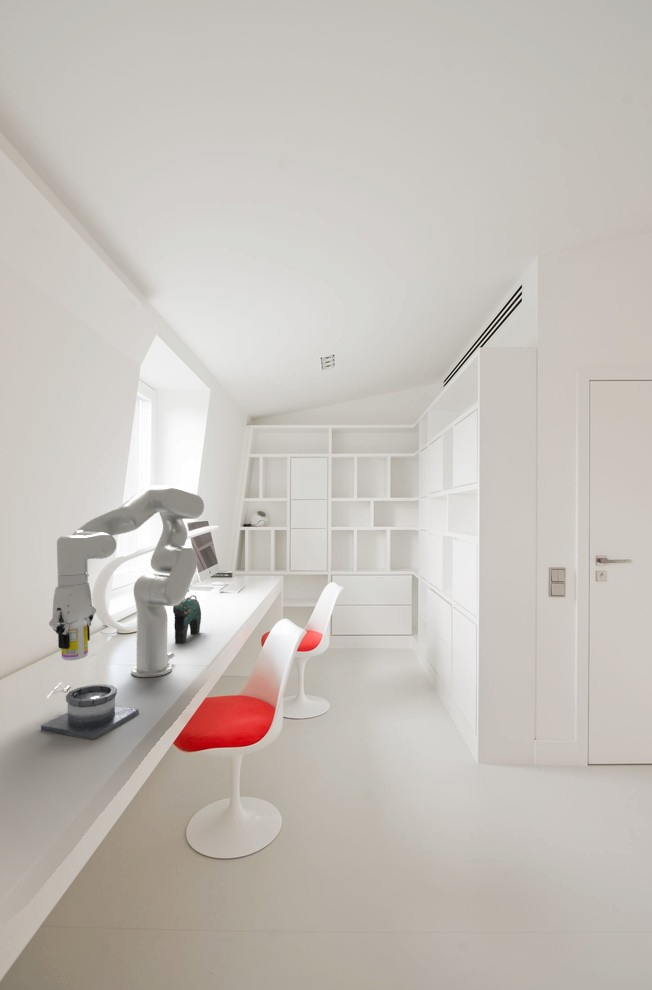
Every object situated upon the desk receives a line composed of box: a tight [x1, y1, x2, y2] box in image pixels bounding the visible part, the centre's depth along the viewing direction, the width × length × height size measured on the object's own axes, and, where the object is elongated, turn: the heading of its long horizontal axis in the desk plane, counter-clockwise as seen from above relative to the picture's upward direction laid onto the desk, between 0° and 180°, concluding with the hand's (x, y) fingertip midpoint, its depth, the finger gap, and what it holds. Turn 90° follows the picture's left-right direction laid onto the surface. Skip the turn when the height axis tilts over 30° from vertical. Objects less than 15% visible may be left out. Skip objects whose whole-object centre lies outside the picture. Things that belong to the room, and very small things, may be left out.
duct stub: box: [40, 683, 140, 741], centre depth 134 cm, size 16×16×7 cm
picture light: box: [45, 682, 72, 700], centre depth 157 cm, size 14×4×2 cm, turn 11°
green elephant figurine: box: [172, 589, 202, 645], centre depth 215 cm, size 20×6×20 cm, turn 171°
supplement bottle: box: [60, 613, 89, 661], centre depth 147 cm, size 7×7×13 cm
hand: (74, 643), depth 147 cm, fingers closed on supplement bottle, 6 cm apart
